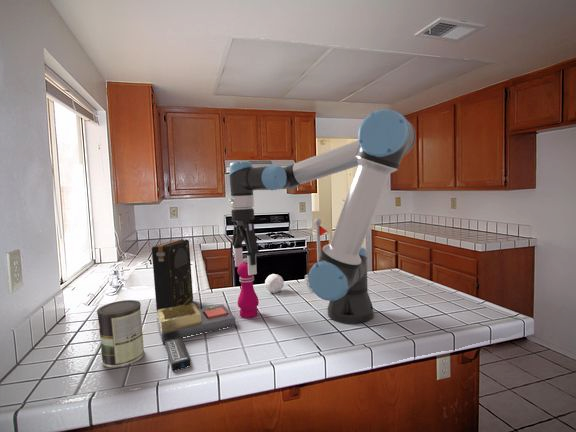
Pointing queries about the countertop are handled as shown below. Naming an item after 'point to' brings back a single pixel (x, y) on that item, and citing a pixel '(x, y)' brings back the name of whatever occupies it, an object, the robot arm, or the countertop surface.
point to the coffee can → (120, 333)
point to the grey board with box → (190, 321)
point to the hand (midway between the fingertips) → (245, 270)
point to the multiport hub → (177, 354)
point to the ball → (274, 283)
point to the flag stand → (318, 233)
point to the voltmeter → (172, 274)
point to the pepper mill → (247, 292)
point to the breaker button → (215, 313)
